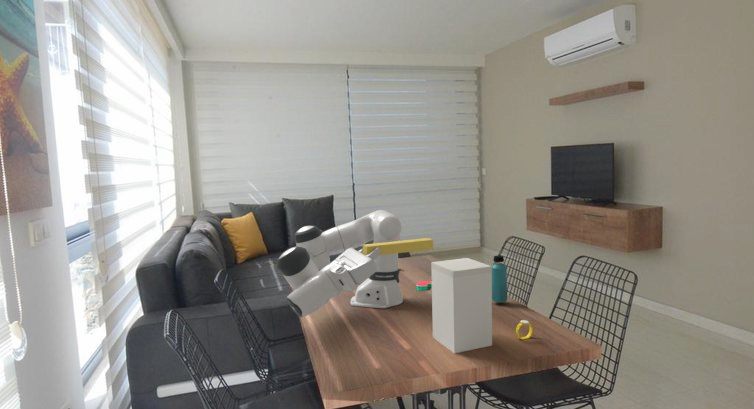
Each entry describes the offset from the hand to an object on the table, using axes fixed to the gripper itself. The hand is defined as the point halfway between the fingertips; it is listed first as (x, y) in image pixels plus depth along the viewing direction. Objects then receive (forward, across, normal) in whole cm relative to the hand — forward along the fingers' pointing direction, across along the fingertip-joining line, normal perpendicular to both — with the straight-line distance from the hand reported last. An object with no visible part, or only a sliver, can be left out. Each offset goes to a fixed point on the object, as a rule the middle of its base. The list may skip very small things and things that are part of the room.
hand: (376, 247), depth 134 cm
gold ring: (+25, +7, -54) cm, 60 cm away
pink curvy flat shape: (+28, -62, -56) cm, 88 cm away
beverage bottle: (+38, -26, -62) cm, 77 cm away
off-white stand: (+8, 0, -44) cm, 45 cm away
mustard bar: (+5, 0, -5) cm, 7 cm away
